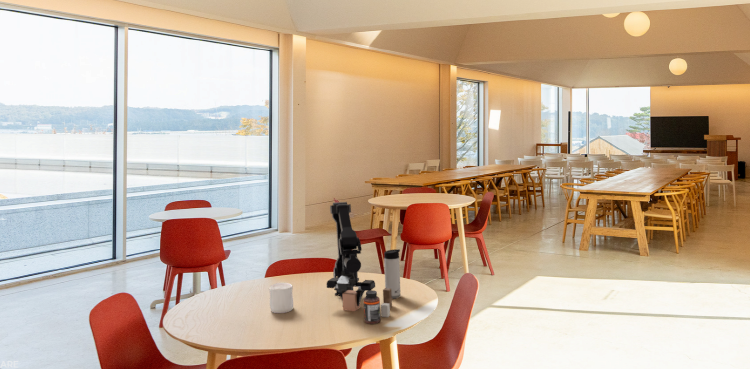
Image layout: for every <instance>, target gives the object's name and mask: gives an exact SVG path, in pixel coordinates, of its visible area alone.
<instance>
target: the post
mask: <svg viewBox="0 0 750 369" xmlns="http://www.w3.org/2000/svg"><path fill="white" fill-rule="evenodd" d="M382 295H383V296H382V297H383V298H382V300H383V303H389V304H390V308H391V307H392V306H393V302H392V301H393V299H392V293H391V288H384V289H382ZM383 303H382V304H383Z"/></svg>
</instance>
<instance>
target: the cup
mask: <svg viewBox="0 0 750 369" xmlns="http://www.w3.org/2000/svg"><path fill="white" fill-rule="evenodd" d="M268 290H269V309H270V312H272V313H273V314H284V313H285V314H286V313H289V312H291V311H292V310H293V309H294V296H293V285H292V284H291V283H289V282H276V283H273V284H271V285H270V286H269V288H268Z"/></svg>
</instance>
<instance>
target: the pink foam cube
mask: <svg viewBox="0 0 750 369" xmlns="http://www.w3.org/2000/svg"><path fill="white" fill-rule="evenodd" d="M342 296H343V301H342V311H348V312H349V311H351V312H356V311H357V310H358V309H360V308H361V303H360V304H359V306H357V293H356V290H354V289H353V290H347V291H346V292H344V293H343V294H342Z"/></svg>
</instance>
